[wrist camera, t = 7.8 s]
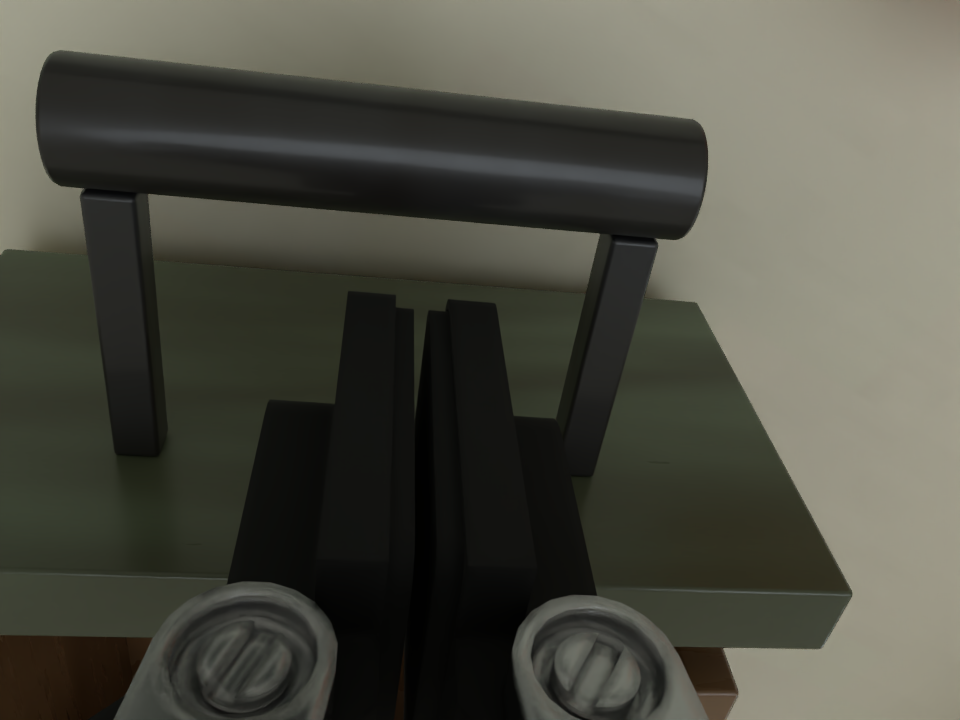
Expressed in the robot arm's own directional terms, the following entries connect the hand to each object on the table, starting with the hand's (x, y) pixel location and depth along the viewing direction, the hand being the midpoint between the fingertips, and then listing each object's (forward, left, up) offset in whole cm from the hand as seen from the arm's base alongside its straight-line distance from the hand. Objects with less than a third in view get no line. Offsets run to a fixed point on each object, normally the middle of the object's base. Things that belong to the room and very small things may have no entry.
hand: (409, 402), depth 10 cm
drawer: (+3, +5, -6) cm, 9 cm away
